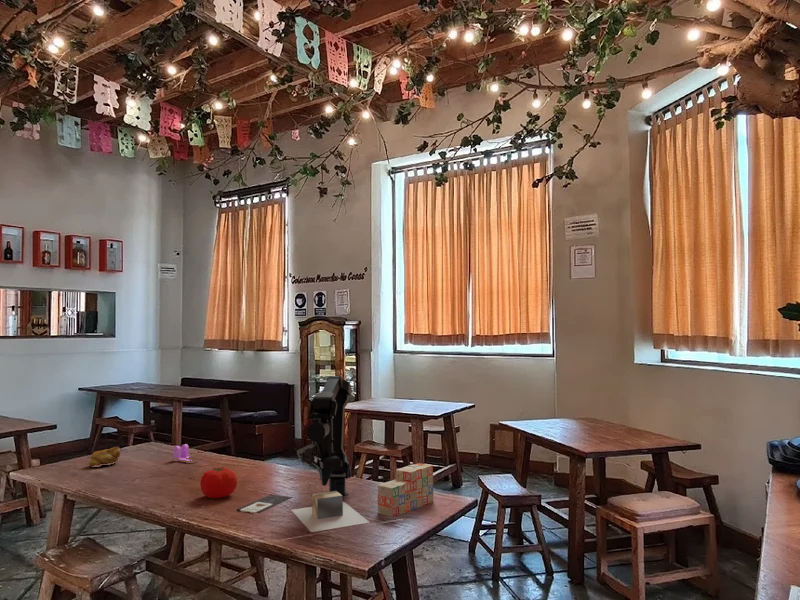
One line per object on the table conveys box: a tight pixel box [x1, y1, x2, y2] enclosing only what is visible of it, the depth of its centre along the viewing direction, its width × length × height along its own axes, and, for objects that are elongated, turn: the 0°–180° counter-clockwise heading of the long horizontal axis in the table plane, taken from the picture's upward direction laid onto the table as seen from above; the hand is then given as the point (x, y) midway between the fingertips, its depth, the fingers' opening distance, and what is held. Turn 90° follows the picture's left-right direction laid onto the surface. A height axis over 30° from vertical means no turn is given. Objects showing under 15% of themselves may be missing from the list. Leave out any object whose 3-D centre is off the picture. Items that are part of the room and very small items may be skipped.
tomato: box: [199, 466, 238, 499], centre depth 203 cm, size 11×13×10 cm
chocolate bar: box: [236, 493, 293, 514], centre depth 193 cm, size 9×1×18 cm
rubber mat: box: [291, 501, 370, 533], centre depth 179 cm, size 23×18×1 cm
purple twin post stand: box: [172, 443, 192, 461], centre depth 260 cm, size 13×6×7 cm, turn 56°
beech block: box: [311, 491, 344, 519], centre depth 180 cm, size 6×8×6 cm
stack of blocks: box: [377, 463, 434, 518], centre depth 187 cm, size 21×6×12 cm, turn 140°
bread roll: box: [88, 446, 121, 467], centre depth 254 cm, size 13×10×8 cm
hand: (324, 485), depth 183 cm, fingers closed
